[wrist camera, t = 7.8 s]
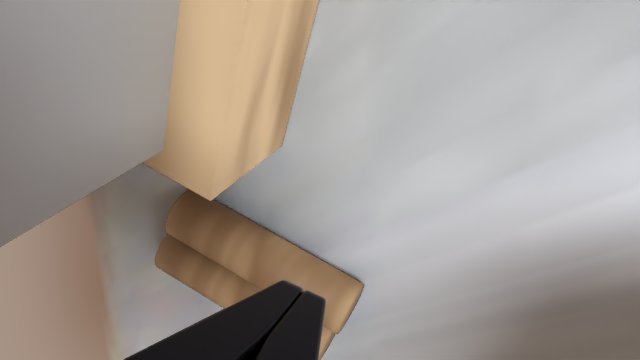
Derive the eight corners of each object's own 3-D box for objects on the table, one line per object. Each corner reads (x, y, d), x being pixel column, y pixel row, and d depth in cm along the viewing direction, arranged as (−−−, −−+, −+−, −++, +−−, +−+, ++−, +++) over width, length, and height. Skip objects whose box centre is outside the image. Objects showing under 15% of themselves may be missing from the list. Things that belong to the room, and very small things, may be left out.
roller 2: (347, 307, 26) (323, 341, 24) (333, 339, 28) (310, 374, 26) (189, 216, 28) (156, 241, 27) (183, 250, 30) (152, 276, 28)
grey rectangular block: (195, -133, 15) (-71, -131, 9) (163, 149, 20) (-21, 258, 14) (50, -191, 16) (-261, -218, 10) (55, 90, 21) (-152, 170, 16)
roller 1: (369, 274, 25) (347, 308, 23) (354, 310, 26) (331, 344, 24) (201, 180, 27) (168, 204, 25) (195, 218, 28) (163, 243, 26)
